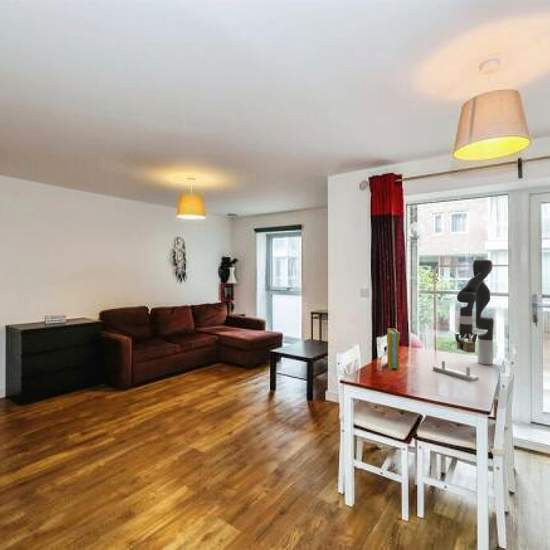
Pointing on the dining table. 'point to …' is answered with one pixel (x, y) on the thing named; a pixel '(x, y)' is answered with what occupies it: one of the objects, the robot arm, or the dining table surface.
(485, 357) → the robot arm
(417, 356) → the dining table surface
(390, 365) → the book
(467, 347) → the frame
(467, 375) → the board
